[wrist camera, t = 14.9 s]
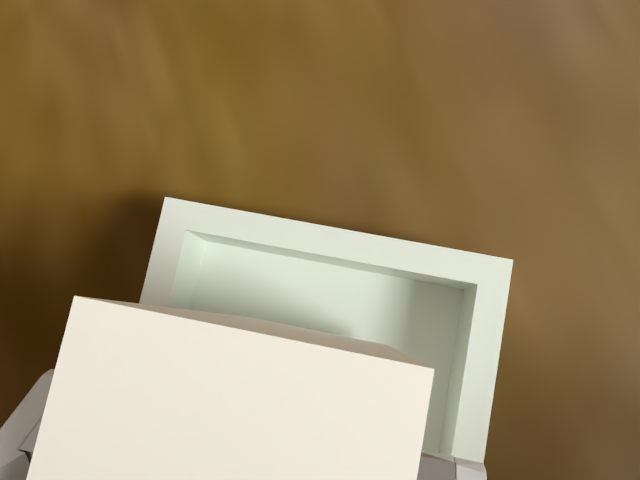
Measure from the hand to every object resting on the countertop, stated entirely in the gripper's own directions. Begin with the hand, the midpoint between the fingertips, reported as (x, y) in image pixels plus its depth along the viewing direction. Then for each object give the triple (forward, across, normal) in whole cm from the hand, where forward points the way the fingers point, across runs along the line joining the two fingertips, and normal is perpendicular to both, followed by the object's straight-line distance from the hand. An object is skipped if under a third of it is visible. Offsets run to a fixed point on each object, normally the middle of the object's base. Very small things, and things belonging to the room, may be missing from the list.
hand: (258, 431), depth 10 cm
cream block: (+6, 0, +7) cm, 9 cm away
